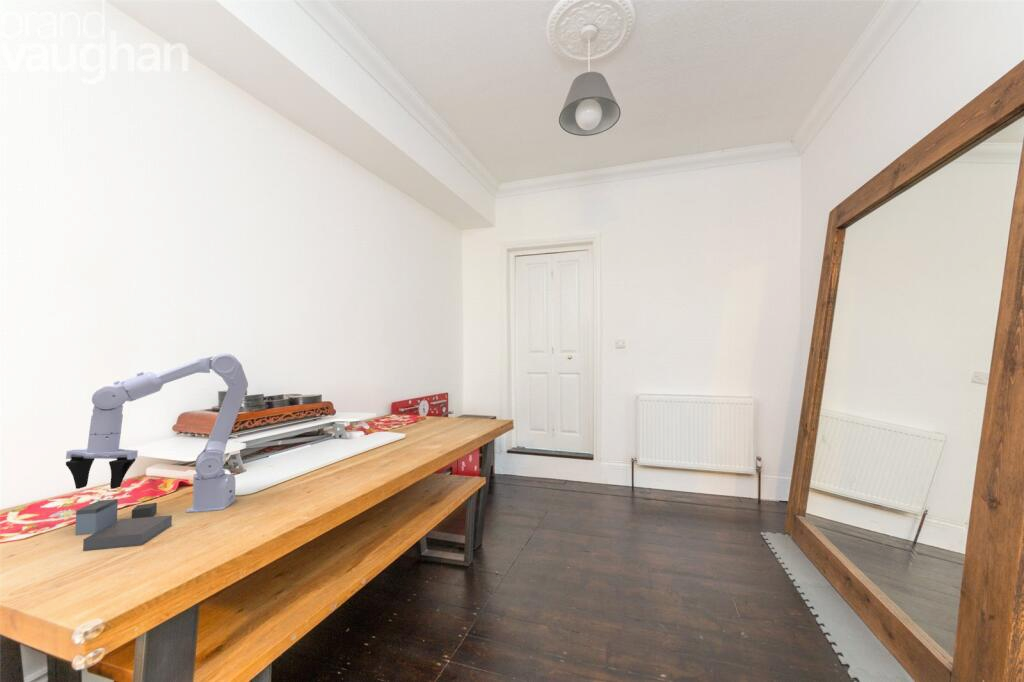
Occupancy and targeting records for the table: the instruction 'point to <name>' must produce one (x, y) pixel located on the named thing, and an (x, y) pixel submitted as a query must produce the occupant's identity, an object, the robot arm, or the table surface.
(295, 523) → the table surface
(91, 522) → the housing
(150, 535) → the stand
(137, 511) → the rubber block
